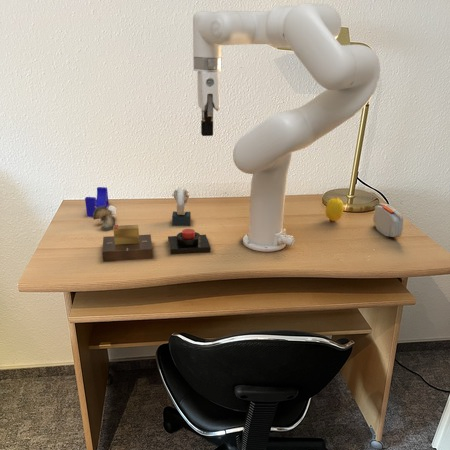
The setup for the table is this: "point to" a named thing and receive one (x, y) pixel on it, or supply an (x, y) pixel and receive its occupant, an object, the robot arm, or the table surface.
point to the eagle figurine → (105, 216)
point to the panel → (127, 249)
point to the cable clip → (97, 201)
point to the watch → (181, 208)
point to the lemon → (334, 209)
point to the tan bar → (126, 234)
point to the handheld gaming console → (388, 220)
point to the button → (188, 233)
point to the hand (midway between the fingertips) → (207, 135)
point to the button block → (188, 244)
